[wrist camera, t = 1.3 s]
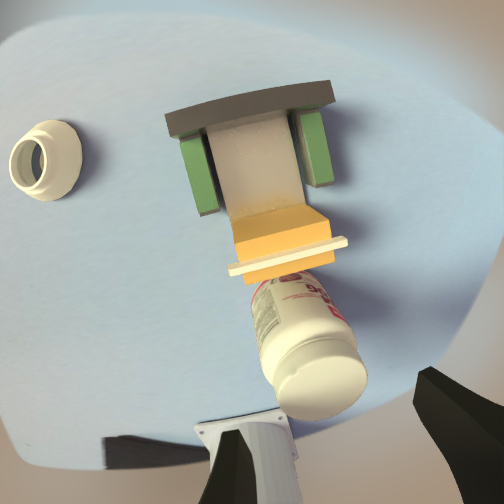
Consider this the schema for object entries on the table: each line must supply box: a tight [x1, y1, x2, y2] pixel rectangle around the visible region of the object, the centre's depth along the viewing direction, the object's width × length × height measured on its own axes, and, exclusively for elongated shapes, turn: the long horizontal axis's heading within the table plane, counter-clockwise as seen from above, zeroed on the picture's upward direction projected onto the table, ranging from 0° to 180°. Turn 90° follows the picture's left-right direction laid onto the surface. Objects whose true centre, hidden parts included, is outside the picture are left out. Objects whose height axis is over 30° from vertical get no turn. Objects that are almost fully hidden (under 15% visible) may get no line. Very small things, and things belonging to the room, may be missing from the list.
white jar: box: [9, 119, 83, 202], centre depth 13 cm, size 5×3×5 cm
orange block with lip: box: [228, 204, 348, 285], centre depth 14 cm, size 2×5×5 cm, turn 104°
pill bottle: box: [251, 270, 368, 421], centre depth 15 cm, size 5×5×8 cm
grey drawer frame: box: [165, 80, 336, 230], centre depth 14 cm, size 8×7×4 cm
